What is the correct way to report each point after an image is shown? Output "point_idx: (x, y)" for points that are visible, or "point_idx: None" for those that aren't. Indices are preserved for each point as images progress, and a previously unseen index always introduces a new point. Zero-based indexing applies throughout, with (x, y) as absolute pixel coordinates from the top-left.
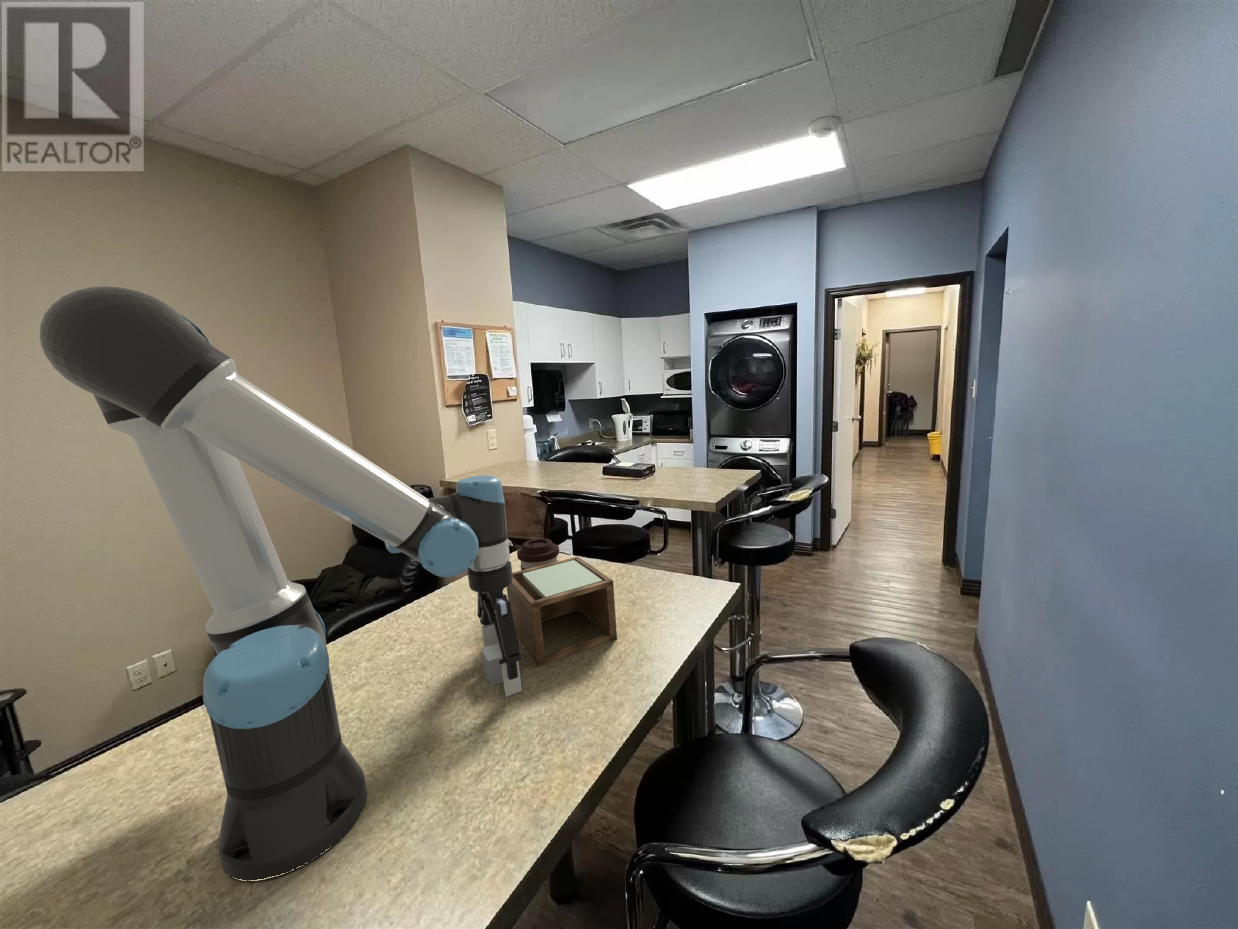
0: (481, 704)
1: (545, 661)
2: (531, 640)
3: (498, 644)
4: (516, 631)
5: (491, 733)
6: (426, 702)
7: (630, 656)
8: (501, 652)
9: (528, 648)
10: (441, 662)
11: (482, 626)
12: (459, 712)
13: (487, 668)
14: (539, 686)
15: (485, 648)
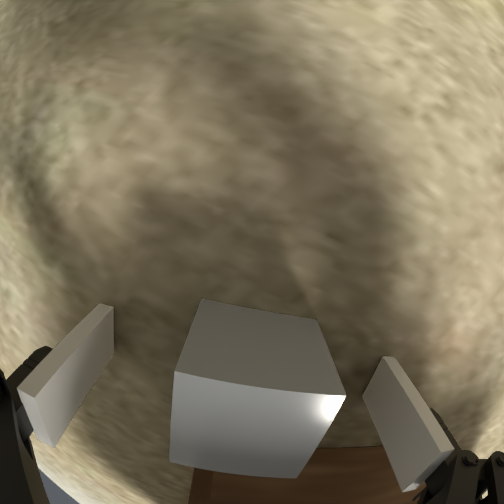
0: (121, 218)
1: None
2: (239, 499)
3: (298, 452)
4: None
5: (2, 188)
6: (306, 57)
7: (116, 499)
8: (2, 426)
9: None
10: (491, 227)
11: (450, 452)
12: (136, 132)
13: (232, 340)
14: (103, 389)
15: (323, 409)
